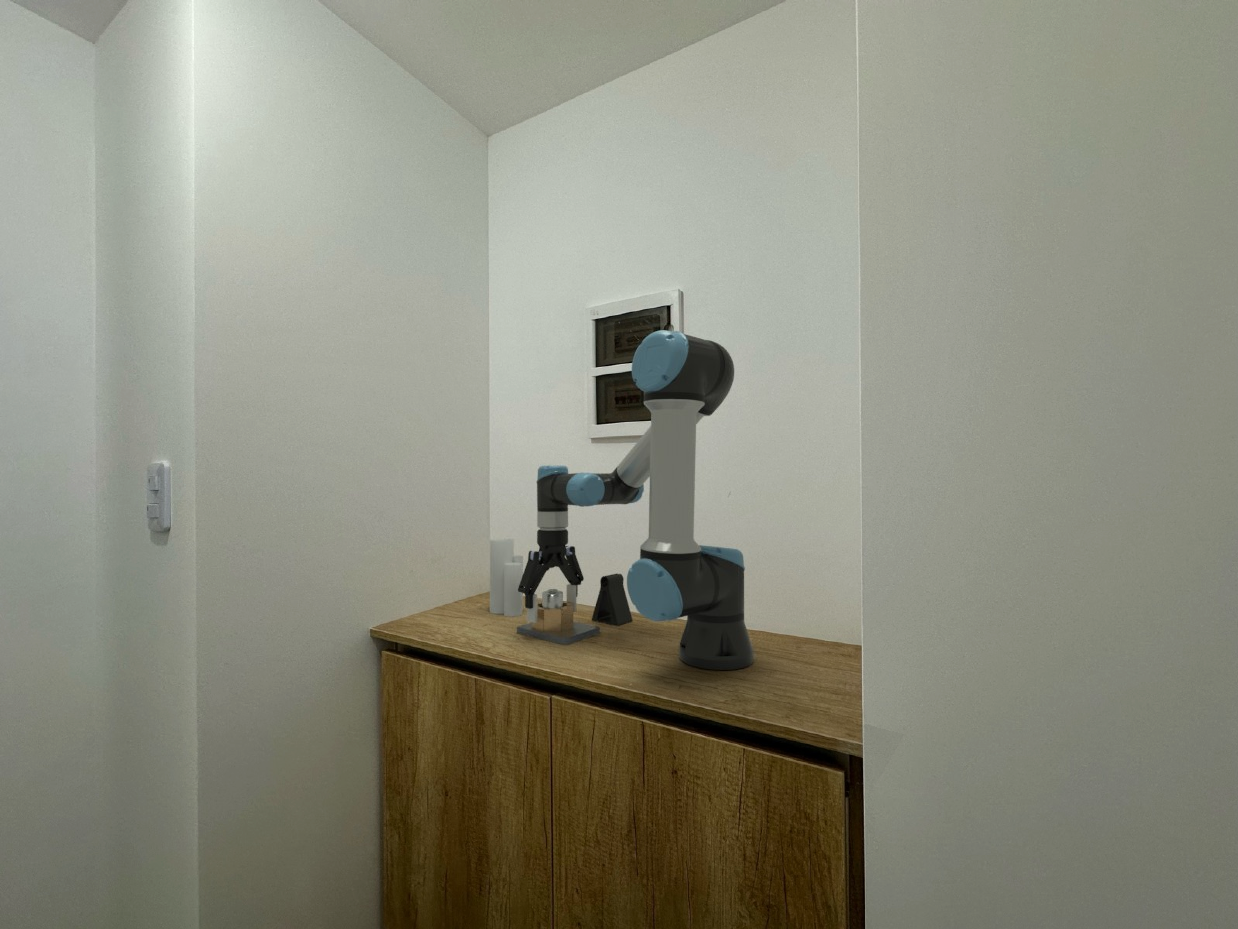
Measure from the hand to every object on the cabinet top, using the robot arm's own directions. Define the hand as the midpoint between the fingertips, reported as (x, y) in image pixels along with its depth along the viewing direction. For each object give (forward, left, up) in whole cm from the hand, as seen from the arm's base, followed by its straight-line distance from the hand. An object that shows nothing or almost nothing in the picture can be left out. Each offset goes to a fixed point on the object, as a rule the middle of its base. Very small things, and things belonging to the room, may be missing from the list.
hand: (552, 616), depth 135 cm
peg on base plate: (-2, 0, -4) cm, 4 cm away
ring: (0, 0, -2) cm, 2 cm away
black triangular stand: (-5, -17, -4) cm, 18 cm away
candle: (+24, -7, -4) cm, 25 cm away
